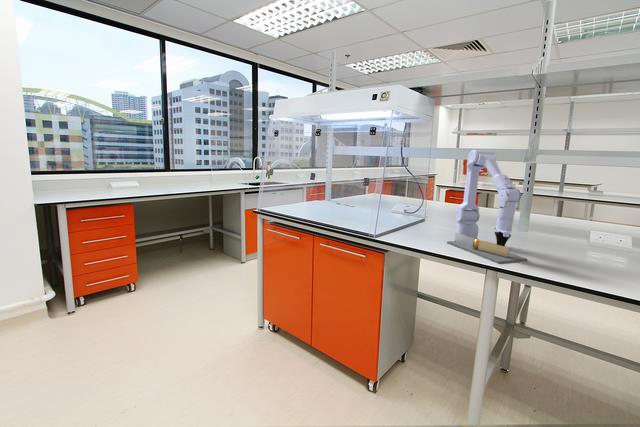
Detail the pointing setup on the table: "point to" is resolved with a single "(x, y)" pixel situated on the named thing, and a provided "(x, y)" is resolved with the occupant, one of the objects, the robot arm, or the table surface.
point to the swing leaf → (491, 248)
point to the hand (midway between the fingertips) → (499, 249)
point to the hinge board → (490, 254)
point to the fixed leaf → (464, 240)
